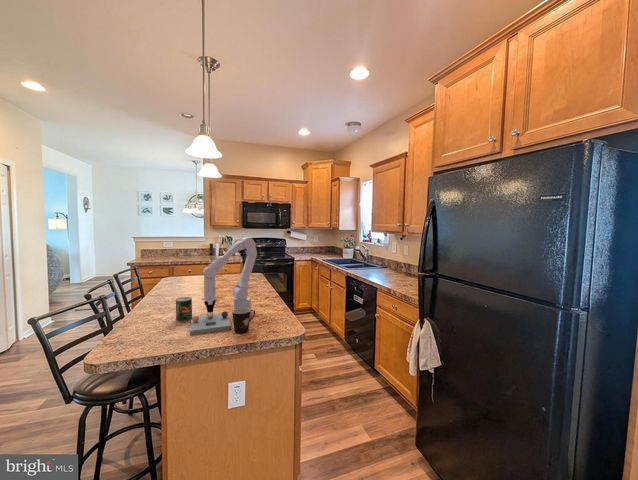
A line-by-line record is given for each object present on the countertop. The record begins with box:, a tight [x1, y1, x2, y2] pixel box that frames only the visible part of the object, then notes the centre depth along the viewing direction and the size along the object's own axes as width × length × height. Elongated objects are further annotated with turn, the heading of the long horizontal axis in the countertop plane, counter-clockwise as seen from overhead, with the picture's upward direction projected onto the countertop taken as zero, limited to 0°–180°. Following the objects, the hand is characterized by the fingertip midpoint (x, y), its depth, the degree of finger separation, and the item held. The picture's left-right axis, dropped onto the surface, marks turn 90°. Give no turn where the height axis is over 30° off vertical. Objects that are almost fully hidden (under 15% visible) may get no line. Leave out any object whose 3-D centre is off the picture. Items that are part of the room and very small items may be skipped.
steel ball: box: [206, 311, 215, 318], centre depth 141 cm, size 3×3×3 cm
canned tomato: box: [175, 296, 193, 322], centre depth 145 cm, size 8×8×11 cm
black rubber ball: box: [221, 311, 229, 318], centre depth 142 cm, size 3×3×3 cm
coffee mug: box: [231, 308, 256, 335], centre depth 129 cm, size 12×9×10 cm
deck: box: [189, 313, 232, 336], centre depth 136 cm, size 18×20×2 cm
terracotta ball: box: [191, 314, 199, 322], centre depth 135 cm, size 3×3×3 cm
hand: (210, 314), depth 144 cm, fingers closed
